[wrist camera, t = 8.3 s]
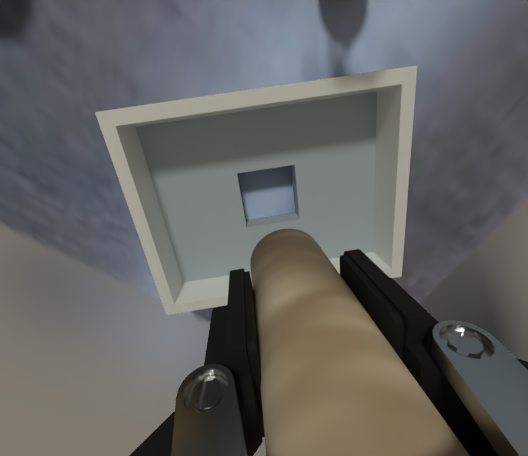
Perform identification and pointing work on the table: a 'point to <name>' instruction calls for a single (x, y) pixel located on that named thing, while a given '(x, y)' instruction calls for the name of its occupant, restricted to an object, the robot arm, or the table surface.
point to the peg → (332, 364)
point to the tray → (259, 158)
